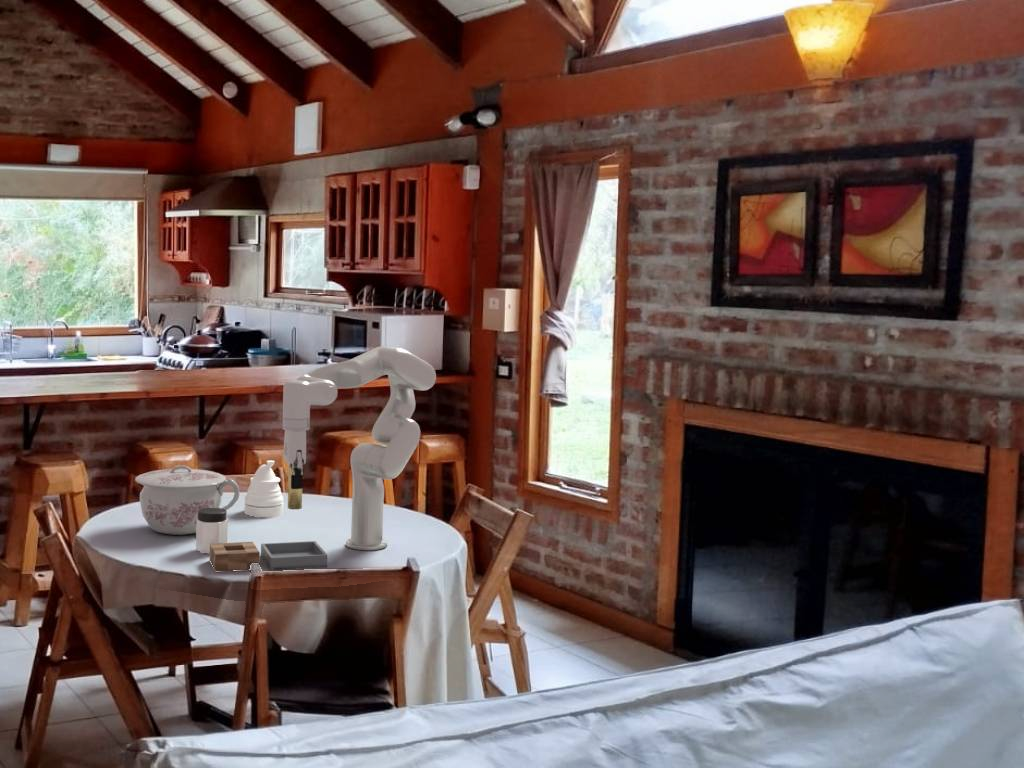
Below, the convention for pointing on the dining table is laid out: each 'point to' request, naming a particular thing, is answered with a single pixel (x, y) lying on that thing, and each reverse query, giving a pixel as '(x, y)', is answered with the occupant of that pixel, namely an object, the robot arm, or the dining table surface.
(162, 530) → the chamber pot
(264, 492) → the honey pot
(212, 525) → the jar
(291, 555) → the tray
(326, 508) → the dining table surface
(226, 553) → the socket block
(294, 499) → the brass pin
